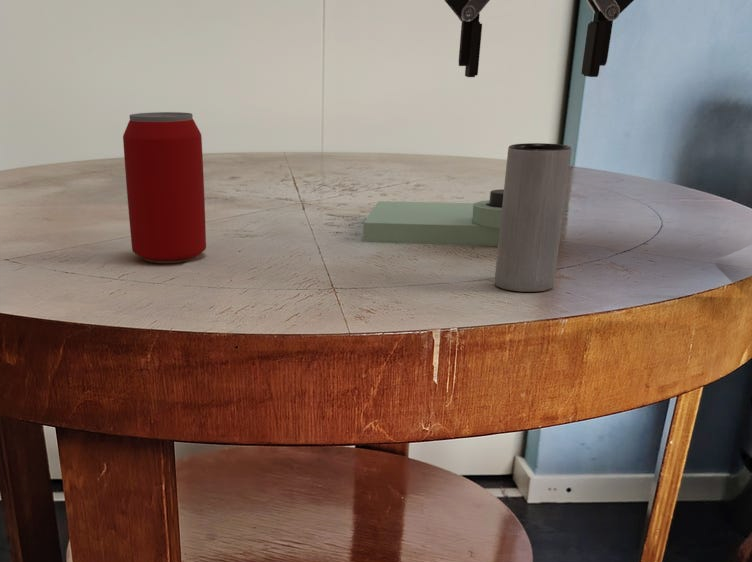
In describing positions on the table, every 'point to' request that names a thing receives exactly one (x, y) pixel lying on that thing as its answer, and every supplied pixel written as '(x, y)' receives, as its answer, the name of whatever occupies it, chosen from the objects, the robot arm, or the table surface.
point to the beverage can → (165, 186)
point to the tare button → (496, 198)
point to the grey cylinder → (532, 216)
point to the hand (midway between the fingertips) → (529, 76)
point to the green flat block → (433, 223)
